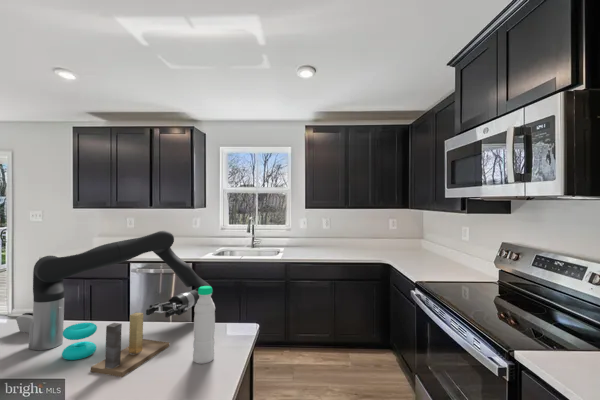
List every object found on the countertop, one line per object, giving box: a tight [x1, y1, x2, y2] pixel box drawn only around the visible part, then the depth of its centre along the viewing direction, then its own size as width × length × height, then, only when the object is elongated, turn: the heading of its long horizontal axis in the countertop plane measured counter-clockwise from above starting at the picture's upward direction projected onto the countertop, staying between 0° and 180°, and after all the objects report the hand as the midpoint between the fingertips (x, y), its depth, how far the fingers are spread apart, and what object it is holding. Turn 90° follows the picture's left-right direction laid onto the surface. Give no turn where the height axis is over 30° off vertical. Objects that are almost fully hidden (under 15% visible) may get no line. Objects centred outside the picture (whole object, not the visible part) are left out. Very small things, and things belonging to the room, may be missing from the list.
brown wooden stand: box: [90, 322, 170, 378], centre depth 111 cm, size 23×12×14 cm, turn 166°
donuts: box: [61, 322, 98, 361], centre depth 113 cm, size 10×10×10 cm
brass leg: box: [128, 311, 144, 354], centre depth 112 cm, size 3×3×13 cm
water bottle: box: [192, 285, 216, 365], centre depth 111 cm, size 7×7×25 cm
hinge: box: [15, 310, 33, 334], centre depth 132 cm, size 17×5×10 cm, turn 72°
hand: (156, 313), depth 123 cm, fingers open, 8 cm apart
